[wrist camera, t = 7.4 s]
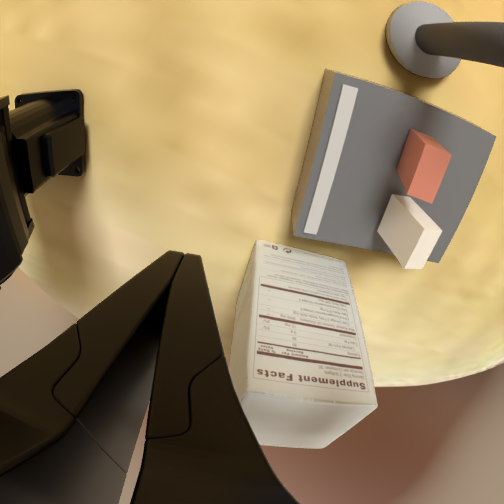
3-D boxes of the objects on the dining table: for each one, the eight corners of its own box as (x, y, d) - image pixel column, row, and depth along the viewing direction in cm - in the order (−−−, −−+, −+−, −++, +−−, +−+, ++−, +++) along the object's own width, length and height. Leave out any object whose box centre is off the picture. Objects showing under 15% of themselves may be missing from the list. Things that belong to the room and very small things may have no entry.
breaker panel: (291, 211, 22) (293, 237, 19) (325, 68, 16) (335, 72, 13) (424, 239, 22) (439, 264, 20) (472, 122, 16) (497, 137, 14)
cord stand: (379, 61, 15) (512, 93, 5) (391, -9, 12) (524, -46, 2) (447, 87, 15) (587, 152, 5) (459, 21, 12) (604, 39, 2)
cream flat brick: (377, 231, 18) (404, 268, 15) (391, 193, 17) (424, 228, 14) (394, 232, 18) (422, 269, 16) (409, 196, 17) (442, 230, 14)
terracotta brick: (396, 169, 16) (406, 194, 13) (410, 128, 14) (425, 143, 12) (418, 178, 16) (432, 203, 13) (432, 137, 14) (451, 155, 11)
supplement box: (313, 319, 28) (323, 451, 18) (234, 302, 27) (215, 440, 17) (348, 258, 24) (382, 408, 14) (256, 234, 23) (242, 394, 13)
